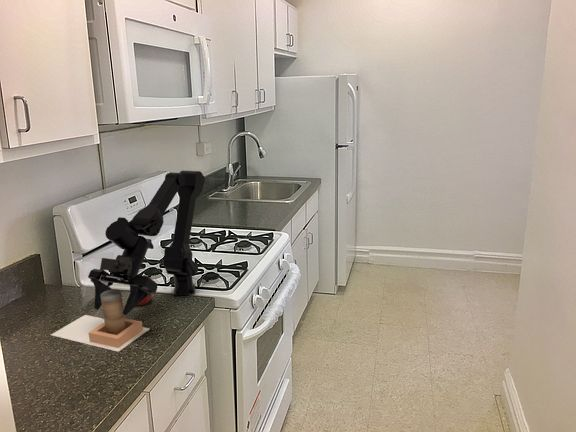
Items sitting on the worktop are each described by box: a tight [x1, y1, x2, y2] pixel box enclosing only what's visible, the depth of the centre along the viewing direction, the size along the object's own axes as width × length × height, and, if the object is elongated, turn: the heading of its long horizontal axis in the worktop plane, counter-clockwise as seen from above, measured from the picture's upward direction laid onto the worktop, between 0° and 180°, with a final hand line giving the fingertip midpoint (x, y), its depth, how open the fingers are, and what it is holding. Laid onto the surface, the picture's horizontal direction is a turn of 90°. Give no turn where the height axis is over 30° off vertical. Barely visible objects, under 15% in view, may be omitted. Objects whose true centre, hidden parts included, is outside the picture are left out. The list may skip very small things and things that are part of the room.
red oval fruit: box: [136, 293, 152, 306], centre depth 147 cm, size 6×6×8 cm
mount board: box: [50, 314, 150, 353], centre depth 131 cm, size 23×12×1 cm, turn 66°
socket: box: [88, 317, 144, 348], centre depth 128 cm, size 9×9×2 cm
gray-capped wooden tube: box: [100, 288, 126, 335], centre depth 127 cm, size 5×5×12 cm
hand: (110, 312), depth 126 cm, fingers open, 9 cm apart
